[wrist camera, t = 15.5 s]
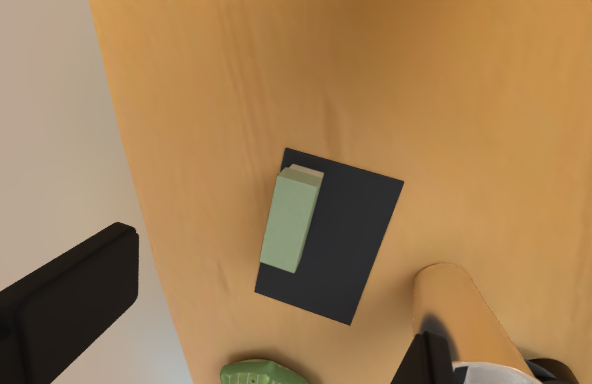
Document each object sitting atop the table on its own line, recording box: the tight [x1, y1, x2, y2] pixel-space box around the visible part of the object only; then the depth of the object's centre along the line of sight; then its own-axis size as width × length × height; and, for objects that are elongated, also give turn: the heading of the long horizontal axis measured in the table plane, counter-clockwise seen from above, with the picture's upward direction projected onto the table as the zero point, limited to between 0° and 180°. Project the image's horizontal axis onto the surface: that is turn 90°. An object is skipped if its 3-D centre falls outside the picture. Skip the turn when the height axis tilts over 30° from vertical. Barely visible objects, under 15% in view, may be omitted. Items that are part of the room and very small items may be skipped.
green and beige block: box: [259, 164, 324, 273], centre depth 35 cm, size 10×4×6 cm, turn 168°
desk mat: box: [254, 148, 404, 326], centre depth 39 cm, size 20×13×1 cm, turn 168°
